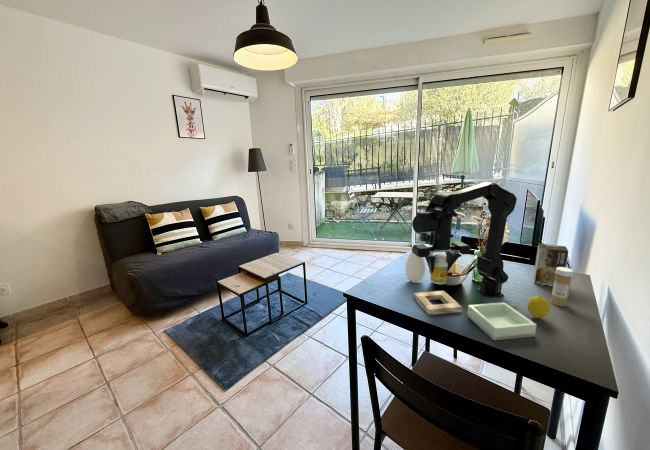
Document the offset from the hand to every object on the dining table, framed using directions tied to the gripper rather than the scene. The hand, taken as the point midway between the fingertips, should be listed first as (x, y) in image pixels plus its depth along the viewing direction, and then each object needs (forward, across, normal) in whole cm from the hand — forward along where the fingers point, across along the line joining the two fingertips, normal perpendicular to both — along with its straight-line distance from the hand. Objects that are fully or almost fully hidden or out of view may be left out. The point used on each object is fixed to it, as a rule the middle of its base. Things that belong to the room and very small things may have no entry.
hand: (438, 272), depth 98 cm
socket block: (+13, 0, 0) cm, 13 cm away
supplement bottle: (+4, 0, 0) cm, 4 cm away
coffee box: (+13, -53, -9) cm, 55 cm away
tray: (+13, -13, +15) cm, 24 cm away
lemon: (+13, -28, +13) cm, 34 cm away
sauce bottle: (+13, 0, -19) cm, 23 cm away
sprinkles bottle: (+13, -43, +6) cm, 45 cm away
